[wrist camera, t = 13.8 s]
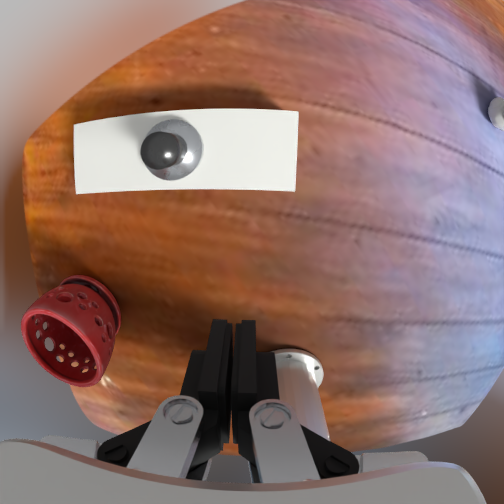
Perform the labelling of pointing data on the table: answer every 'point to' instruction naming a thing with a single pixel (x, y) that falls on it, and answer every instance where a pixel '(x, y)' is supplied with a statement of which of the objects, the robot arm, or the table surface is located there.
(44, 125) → the table surface
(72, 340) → the plant pot
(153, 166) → the silver and black post
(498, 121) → the grey rounded lumpy piece
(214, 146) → the bar
